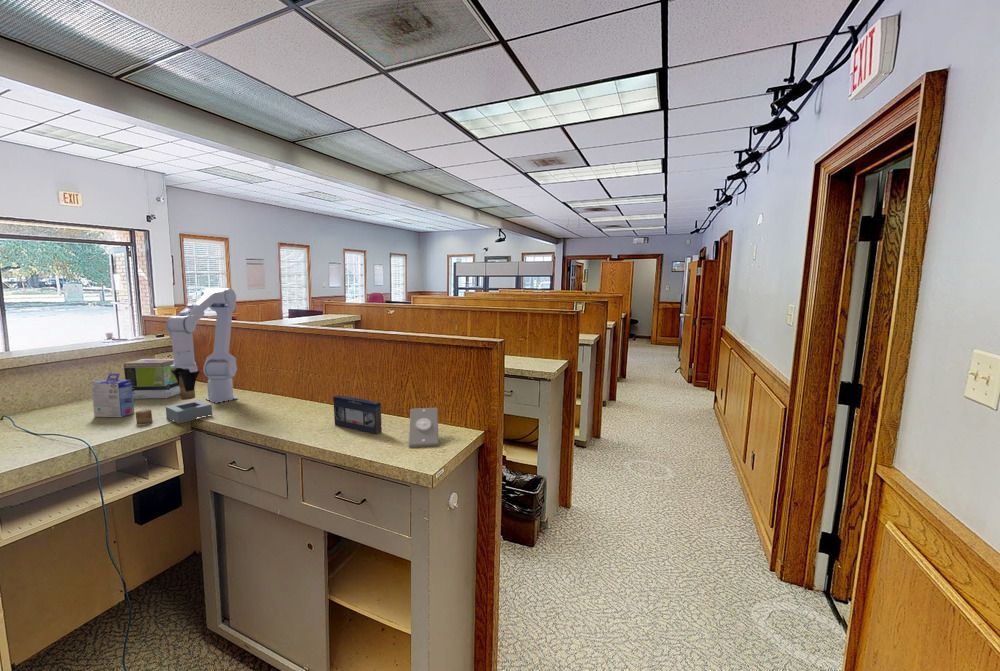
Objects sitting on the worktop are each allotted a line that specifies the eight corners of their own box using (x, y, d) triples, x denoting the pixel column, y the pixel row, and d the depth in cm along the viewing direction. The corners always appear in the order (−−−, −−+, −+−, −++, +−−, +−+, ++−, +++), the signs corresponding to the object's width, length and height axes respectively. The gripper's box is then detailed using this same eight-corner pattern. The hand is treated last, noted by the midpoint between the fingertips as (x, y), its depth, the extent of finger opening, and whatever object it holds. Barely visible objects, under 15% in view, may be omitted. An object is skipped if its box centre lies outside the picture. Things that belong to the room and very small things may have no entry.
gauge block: (166, 417, 144) (165, 406, 143) (199, 410, 152) (198, 399, 151) (178, 423, 138) (177, 411, 138) (212, 415, 147) (211, 404, 146)
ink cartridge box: (136, 412, 149) (131, 373, 147) (121, 417, 143) (117, 376, 141) (108, 412, 149) (104, 372, 147) (93, 417, 144) (88, 376, 142)
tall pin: (178, 398, 144) (176, 375, 143) (192, 395, 147) (190, 373, 146) (183, 400, 142) (181, 377, 140) (197, 397, 145) (195, 375, 144)
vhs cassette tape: (334, 425, 138) (332, 396, 137) (341, 423, 141) (340, 394, 139) (375, 435, 130) (374, 404, 128) (382, 432, 132) (381, 402, 131)
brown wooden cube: (134, 423, 138) (133, 411, 138) (149, 420, 142) (148, 408, 141) (139, 425, 136) (137, 413, 136) (154, 422, 139) (153, 410, 139)
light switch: (408, 443, 120) (410, 406, 131) (409, 456, 123) (411, 419, 135) (438, 441, 121) (437, 405, 133) (438, 454, 125) (437, 418, 136)
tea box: (183, 392, 176) (180, 357, 174) (165, 399, 166) (162, 362, 164) (146, 392, 175) (142, 357, 173) (126, 399, 165) (122, 362, 163)
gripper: (160, 350, 143) (164, 389, 145) (178, 355, 135) (182, 395, 137) (185, 347, 149) (188, 384, 150) (203, 352, 141) (206, 391, 142)
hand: (187, 389), depth 144 cm, fingers closed on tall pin, 4 cm apart
